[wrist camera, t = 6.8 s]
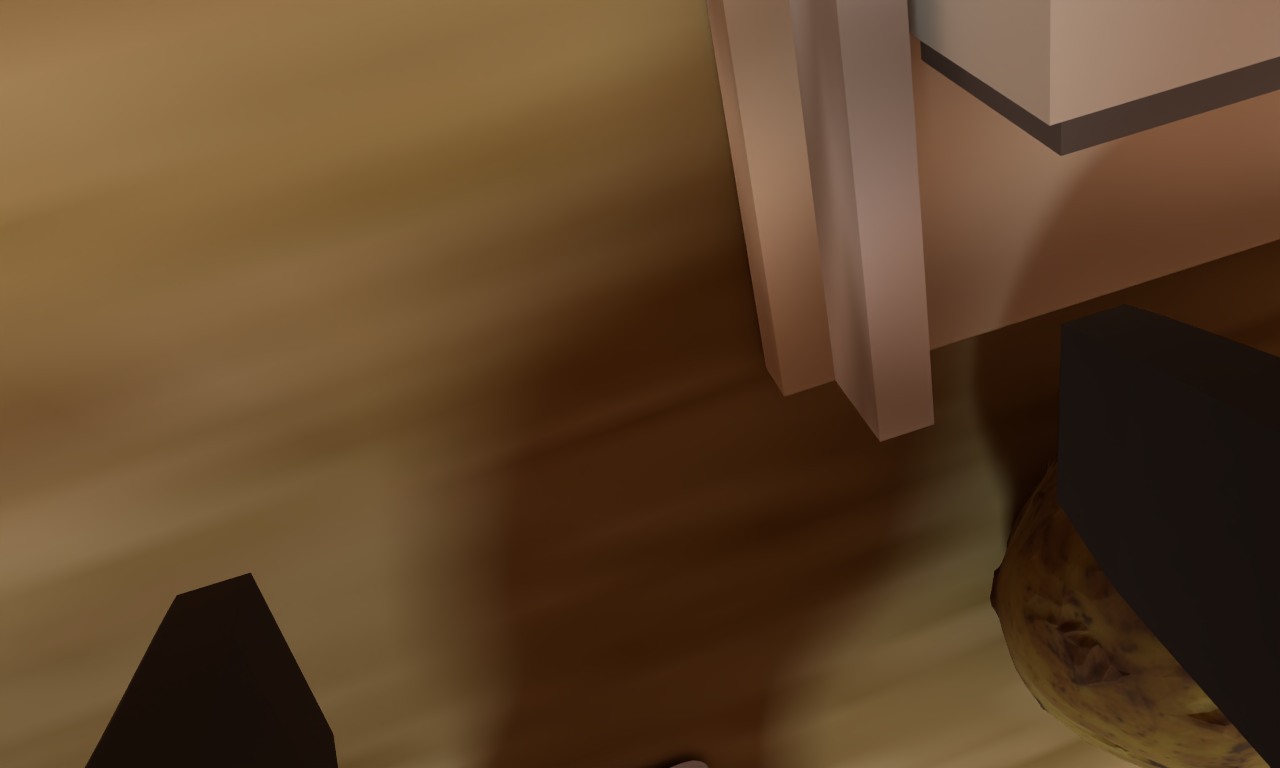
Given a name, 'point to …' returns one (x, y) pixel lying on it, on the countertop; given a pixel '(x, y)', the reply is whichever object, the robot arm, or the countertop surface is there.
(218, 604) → the robot arm
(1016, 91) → the block
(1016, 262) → the press board
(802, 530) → the countertop surface
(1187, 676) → the potato
